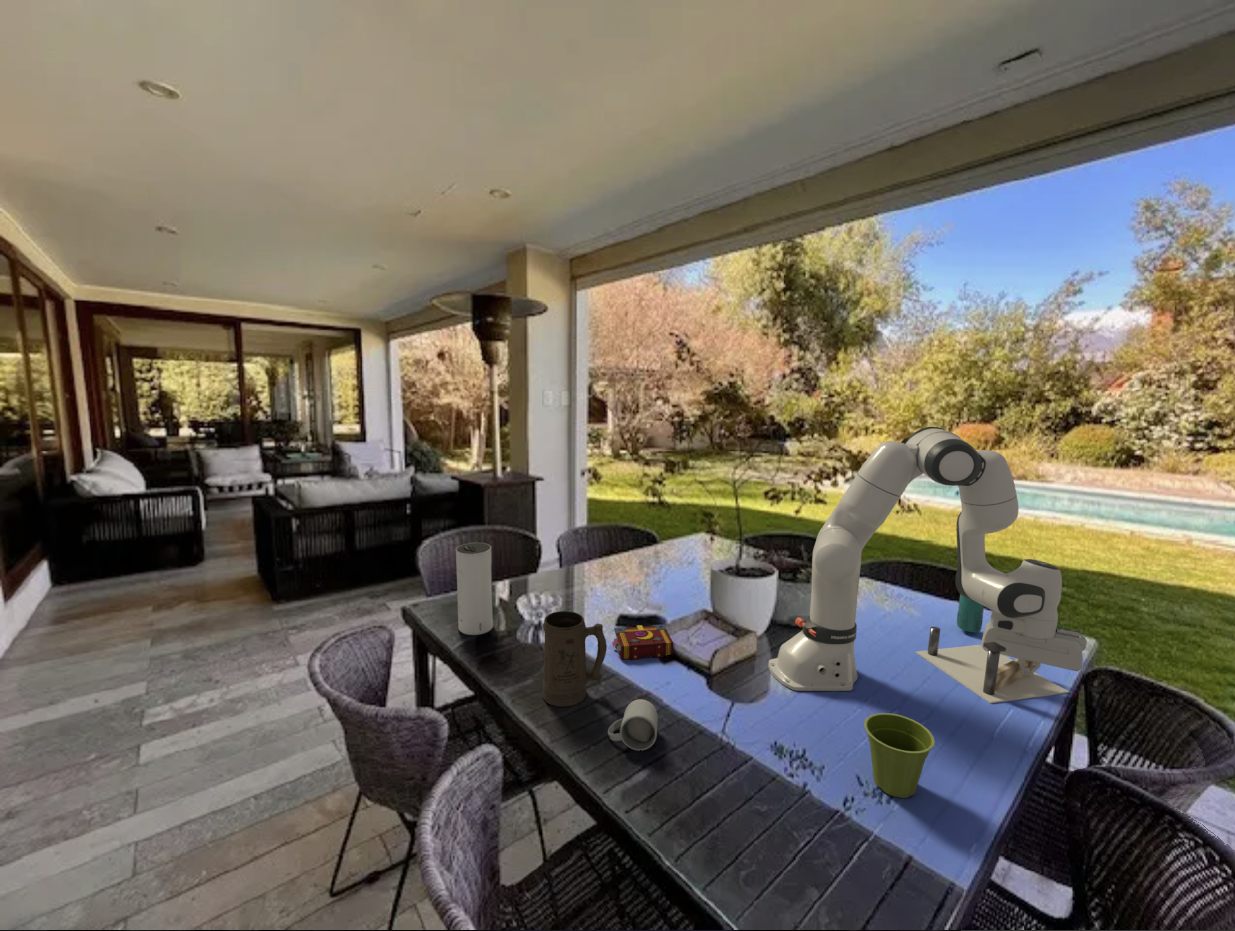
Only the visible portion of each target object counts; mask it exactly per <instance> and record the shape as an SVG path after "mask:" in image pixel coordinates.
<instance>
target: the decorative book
mask: <svg viewBox="0 0 1235 931" xmlns="http://www.w3.org/2000/svg"><path fill="white" fill-rule="evenodd" d="M613 630H614V634H615V637H616V638H614V639H613V641H612V643H611V644H612V647H613V648H615V647H616V652H617V653H618V655H619V658H620V660H632V661H634V660H636V661H637V660H640V659H644V658H647V659H648V658H655V659H659V658H661V659H663V658H664V657H668V656H667V655H671V654H672V653H673V654H674V641H673V639H672V637H671V636H670V633H669V632H668V628H667V626H666V625H665V624H653V625H652V624H651V625H646V626H643V625H642V624H641V625H639V624H638V625H636V626H635V627H633V626H632V627H630V626H629V627H628V626H622V627H614V628H613ZM662 657H663V658H662Z"/></svg>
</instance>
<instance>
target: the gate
mask: <svg viewBox="0 0 1235 931" xmlns="http://www.w3.org/2000/svg"><path fill="white" fill-rule="evenodd" d="M1012 660H1013V661H1011V662H1009V663H1007V664H1005V665H1002V666H1000V667H998V672H997V679H996V687H995V691H996V690H998V689H1000V688H1002V687H1004V686H1005V685H1007V684H1009V683H1011V682H1013V681H1015V680H1017V679H1019V678H1021V677H1023V675H1021V667H1020V665H1019V663H1018V660H1017V658H1015V659H1012ZM1023 664H1024V666H1025V667H1027V668H1030V667H1031V666H1032V665H1033V662H1032V661H1028V660H1025V663H1023Z"/></svg>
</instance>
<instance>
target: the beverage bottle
mask: <svg viewBox="0 0 1235 931" xmlns="http://www.w3.org/2000/svg"><path fill="white" fill-rule="evenodd" d="M959 594H960V593H959ZM958 600H959V601H958V606H957V607H958V609H957V617H956V624H957V628H959V629H961V630H963V631H966V632H970V633H978V632H981V630H982V627H983V621H984V620H983V619H984V613H985V611H984V608H985V606H983V605H981V604H979V603H977V602H975V601H972V600H970V599H967V598H965V597H963V596H962V595H961V594H960V595H959V599H958Z"/></svg>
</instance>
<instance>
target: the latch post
mask: <svg viewBox="0 0 1235 931" xmlns="http://www.w3.org/2000/svg"><path fill="white" fill-rule="evenodd" d="M940 635H941V628H940V627H938V626H930V628H929V637H928V638H929V639H928V646H927V650H928V654H929V655H932V656H937V655H938V649H939V645H940Z"/></svg>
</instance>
